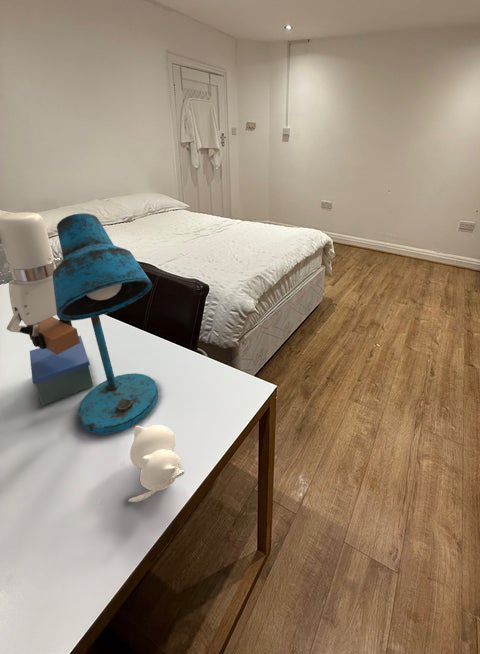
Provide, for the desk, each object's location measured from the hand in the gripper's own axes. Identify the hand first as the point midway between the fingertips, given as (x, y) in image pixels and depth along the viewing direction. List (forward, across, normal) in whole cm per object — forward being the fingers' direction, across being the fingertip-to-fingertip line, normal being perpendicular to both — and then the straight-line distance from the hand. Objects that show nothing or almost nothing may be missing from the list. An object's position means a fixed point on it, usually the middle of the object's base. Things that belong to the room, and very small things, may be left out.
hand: (54, 339), depth 76 cm
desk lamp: (+13, -1, +20) cm, 24 cm away
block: (0, 0, 0) cm, 0 cm away
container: (+12, 0, 0) cm, 12 cm away
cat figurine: (+13, +6, +38) cm, 40 cm away
